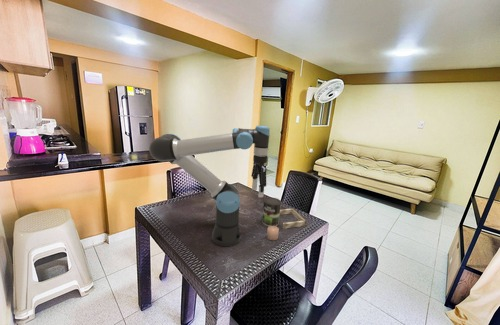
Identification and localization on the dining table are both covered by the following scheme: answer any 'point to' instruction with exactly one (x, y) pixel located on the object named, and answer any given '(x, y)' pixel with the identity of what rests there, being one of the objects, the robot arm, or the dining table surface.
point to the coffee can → (271, 211)
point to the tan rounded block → (272, 232)
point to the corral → (293, 224)
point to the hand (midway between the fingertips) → (257, 193)
